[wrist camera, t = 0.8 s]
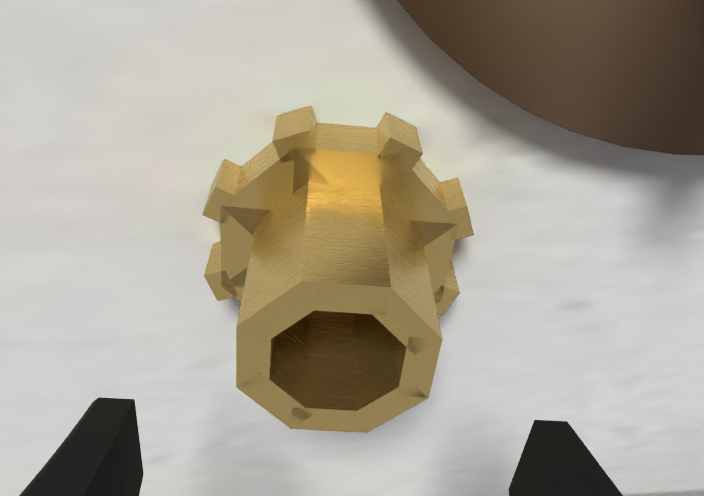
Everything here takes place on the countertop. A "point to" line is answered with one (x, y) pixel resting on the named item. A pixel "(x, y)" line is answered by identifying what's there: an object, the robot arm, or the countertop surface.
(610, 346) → the countertop surface
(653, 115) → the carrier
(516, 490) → the robot arm
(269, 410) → the brass gear
